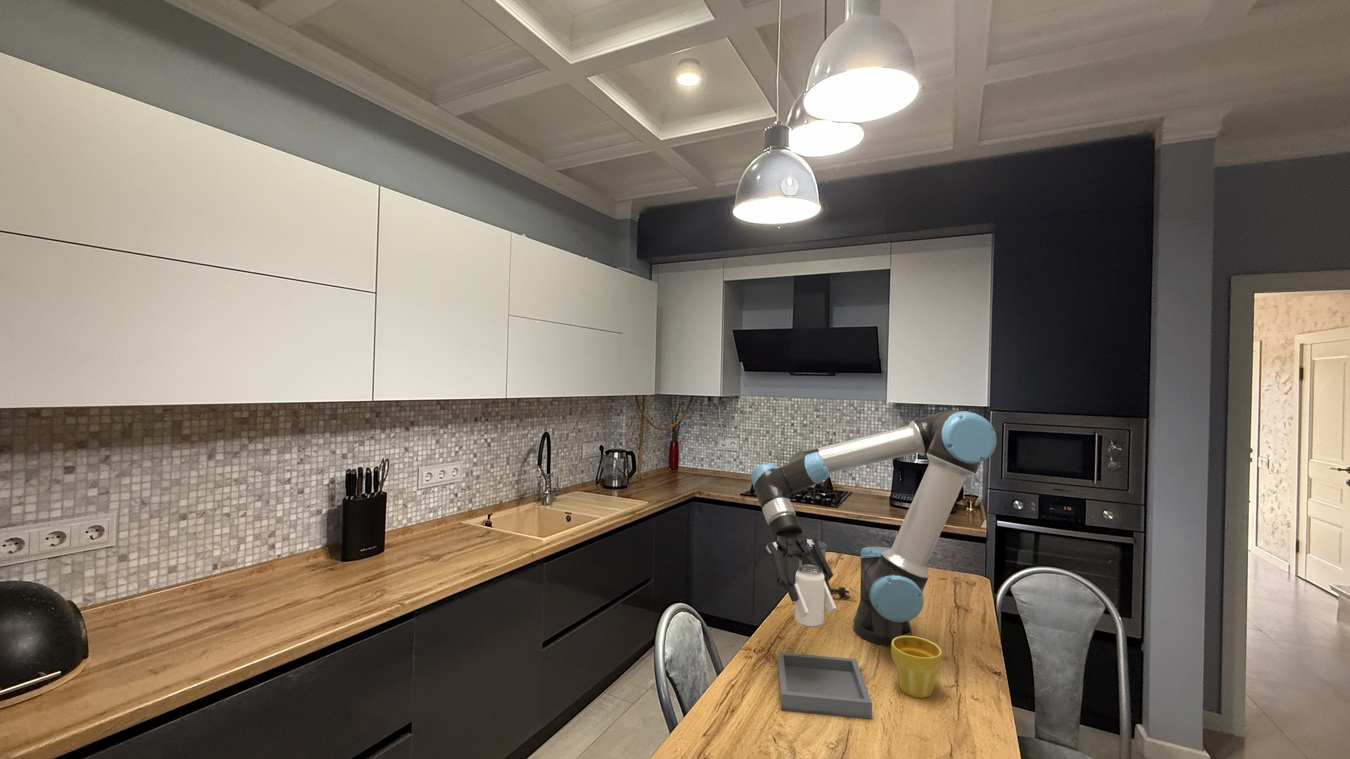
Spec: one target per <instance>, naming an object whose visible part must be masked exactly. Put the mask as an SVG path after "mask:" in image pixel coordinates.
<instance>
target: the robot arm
mask: <svg viewBox="0 0 1350 759" xmlns="http://www.w3.org/2000/svg"><path fill="white" fill-rule="evenodd" d="M997 441H998V440H997V434H996V430H995V428H994V426H993V425H992V424H991V422H990V421H989V420H987V419H986V418H985V417H984V416H982V415H980V414H977V413H975V412H971V411H969V410H968V411H967V410H966V411H965V410H964V411H961V410H956V409H955V410H954V409H950V410H943V411H940V412H936V413H935V414H931V415H928V416H925V417H922V418H919V419H915V420H914V419H913V420H912V421H910V422H909V424H908V425H906V426H902V427H898V428H895V429H891V430H886V431H883V432H877V433H874V434H871V435H870V434H869V435H866V436H862V437H858V438H853V439H849V440H846V441H841V442H838V443H833V444H830V445H825V446H822V447H821V446H820V447H818V448H813V449H809V450H799V451H796V452H794V453H793V454H791V457H790V458H789V461H788V463H787V464H785V465H782V466H780V467H777V466H776V465H775V464H774V463H770V462H769V463H768V462H767V463H765V464H763V463H762V464H759V465H758V466H756V467H755V468H753V469H752V471H751V474H750V479H751V483H752V486H753V490H754V493H755V494H756V498H757V500H758V503H759V505H760V508H761V511H762V514H763V516H764V518H765V521H766V523H767V525H768V530H769V532H770V535H771V537H772V540H773V541H772V542H771V541H769V542H768V544H767V545H766V547H765V548H764V550H765V552H766V553H767V555H768V556H769V560H770V564H771V567H772V571H773V575H774V579H775V583H776V585H777V586H778V587H779V588H780V587H783V589H784V591H787V592H788V595H789V598H790V600H791V602H792V603H793V602H794V605H795V604H796V606H797V609H798V612H799V614H800V617H801V618H802V617H804V616H805V615H806V614H807V613H808V609H807V607H806V604H805V601H804V599H803V596H802V593H801V591H800V588H799V586H798V584H795V580H794V578H795V577H794V566H793V557H795V558H798V559H800V560H801V561H803V562H804V563H805V565H814V566H818V567H820V568H822V570H823V571H822V572H823V575H824V608H825V609H826V611H827V614H832V613H833V612H834V611H835V610H836V609H837V606H836V604H835V601H834V599H833V596H832V595H833V593H834V592H832V590H831V589H832V587H831V586H830V583H829V580H831V579H832V578H833V576H834V573H833V571H832V569H831V567H830V566H829V564H828V562H827V560H826V558H824V556H823V554H822V552H821V550H820V548H819V544H818V541H819V540H818V539H817V538H816V537H814V538H812V539H810V538H807V537H806V536H805V535H804V534H803V529H802V526H801V524H800V521H799V518H798V517H797V515H796V513H797V512H796V511H795V509H794V505H793V504H792V502H791V499H790V497H789V496H791V495H794V494H795V493H799V492H801V491H802V490H807V489H808V488H810V487H812V486H815V485H819V484H821V483H822V482H824V481H826V480H828V479H829V478H830V476H831V475H830V474H831V473H833V474H834V473H836V472H842V471H846V470H849V469H853V468H857V467H861V466H862V467H863V466H866V465H867V466H868V465H871V464H874V463H875V464H876V463H880V462H885V461H888V460H893V459H896V458H897V459H898V458H902V457H906V456H910V455H915V454H918V455H920V456H927V459H928V466H927V468H926V470H925V472H924V474H923V477H922V479H921V482H920V483H919V486H918V488H917V490H916V492H915V494H914V497H913V499H912V501H911V504H910V506H909V508H908V510H907V513H906V515H905V517H904V518H903V521H902V524H901V526H900V527H899V530H898V532H897V535H896V537H895V539H894V542H893V544H892V546H891V547H886V546H885V547H884V546H866V547H863V548H862V549H861V551H860V557H859V560H860V593H859V594H860V595H859V596H860V597H859V598H860V599H859V600H860V601H859V604H858V607H857V609H856V612H855V615H854V618H853V624H852V625H853V632H854V633H855V634H856V635H858V637H860V638H862V639H863V640H866V641H868V642H871V643H873V644H878V645H884V646H891V642H892V640H893V639H894V638H896V637H899V636H913V628H912V625H911V621H912V620H914V619H915V618H917V617H918V616H919V615H920V613H921V612H922V609H923V608H924V607H923V606H924V603H925V601H924V595H923V594H924V593H923V591H924V588H925V586H926V584H927V582H928V579H929V578H930V575H929V572H928V569H927V566H928V563H929V560H930V558H931V556H932V554H933V552H934V549H935V547H936V545H937V542H938V541H939V538H940V536H941V533H942V532H943V531H944V530H943V529H944V527H945V525H946V523H947V521H948V519H949V516H950V514H951V512H952V509H953V507H954V506H955V503H956V501H957V499H958V496H959V494H960V492H961V490H962V487H963V485H964V482H965V480H966V479H967V478H969V477H972V476H975V475H976V474H977V472H978V469H979V468H980V465H981V463H982V462H984V461H985V460H987V459H988V458H990V456H992V454H994V452H995V449H996V448H997V447H996V446H997V443H998V442H997ZM806 545H807V546H808V548H807V547H806ZM808 549H810V551H811V554H812V556H813V557H812V556H811V555H810V551H809V550H808ZM778 551H779V552H780V553H781V554H782V558H780V555H779V552H778ZM803 553H804V554H803ZM813 558H814V559H813ZM781 559H782V562H783V565H782V562H781Z"/></svg>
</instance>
